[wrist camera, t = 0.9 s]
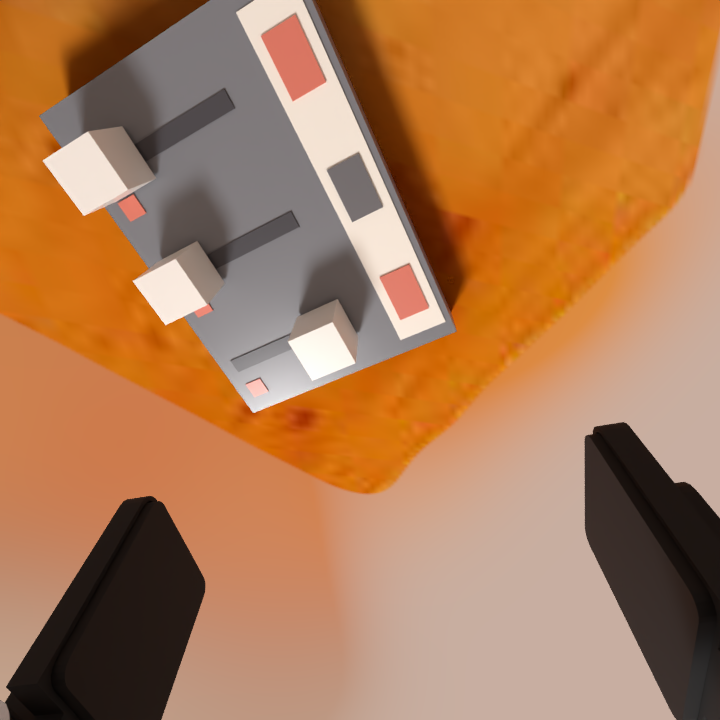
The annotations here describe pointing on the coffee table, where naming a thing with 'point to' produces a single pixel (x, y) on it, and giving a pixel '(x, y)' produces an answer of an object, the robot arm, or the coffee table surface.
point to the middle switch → (180, 283)
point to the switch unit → (264, 188)
